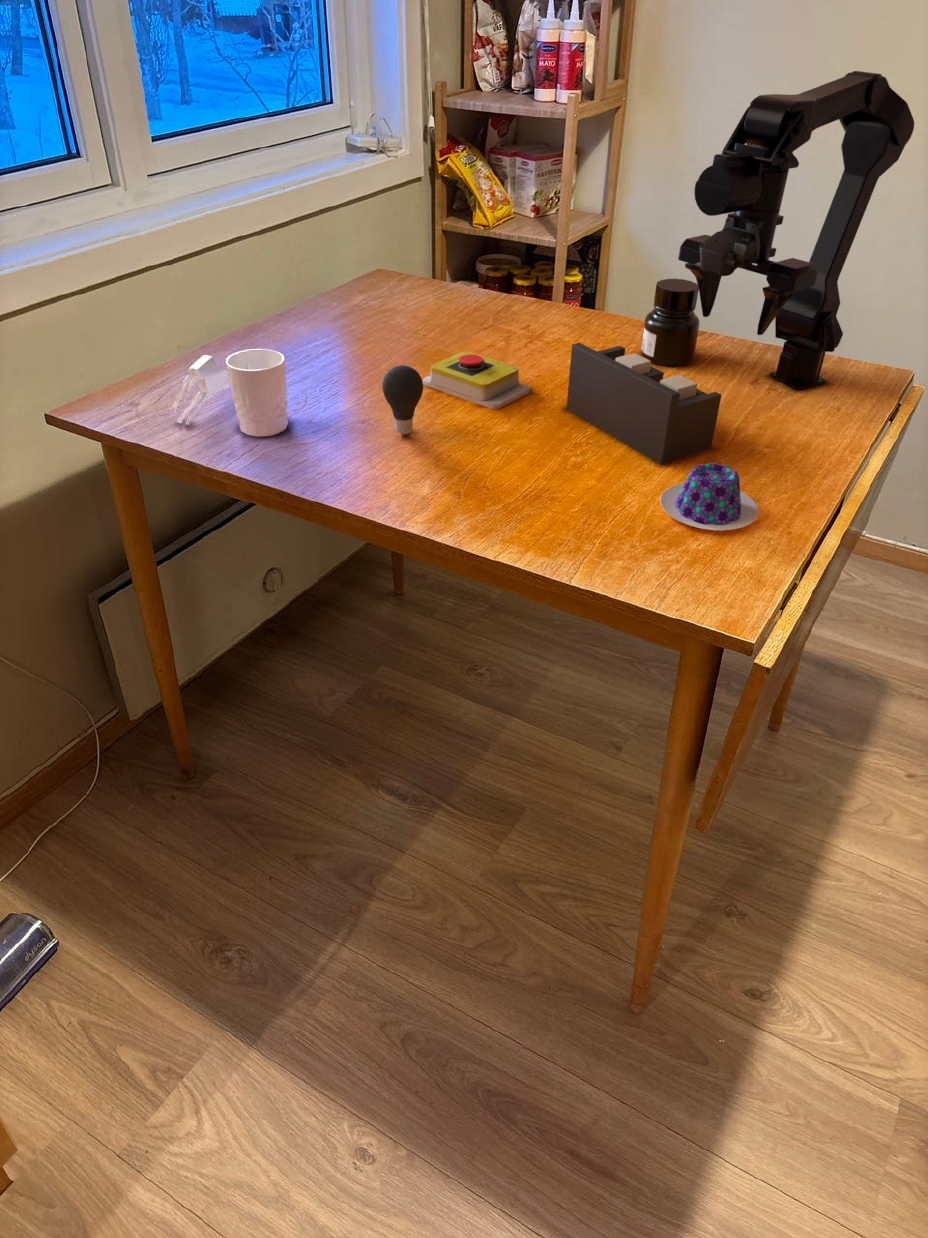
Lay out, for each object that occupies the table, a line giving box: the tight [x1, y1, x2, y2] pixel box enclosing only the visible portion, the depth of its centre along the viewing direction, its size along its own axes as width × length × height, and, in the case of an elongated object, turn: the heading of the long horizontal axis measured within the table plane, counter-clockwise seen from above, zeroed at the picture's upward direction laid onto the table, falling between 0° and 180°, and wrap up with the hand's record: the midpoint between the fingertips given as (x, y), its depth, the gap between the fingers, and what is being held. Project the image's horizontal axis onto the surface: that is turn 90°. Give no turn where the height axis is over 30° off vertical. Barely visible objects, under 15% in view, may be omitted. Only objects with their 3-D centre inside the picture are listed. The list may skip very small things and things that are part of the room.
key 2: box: [660, 374, 698, 400], centre depth 127 cm, size 4×4×2 cm
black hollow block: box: [565, 342, 722, 466], centre depth 130 cm, size 9×21×10 cm, turn 33°
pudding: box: [659, 462, 759, 531], centre depth 113 cm, size 12×12×5 cm
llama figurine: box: [169, 354, 231, 426], centre depth 136 cm, size 2×11×18 cm
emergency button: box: [422, 350, 531, 410], centre depth 143 cm, size 9×4×15 cm
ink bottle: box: [640, 278, 700, 367], centre depth 152 cm, size 10×9×12 cm
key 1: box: [615, 352, 652, 374], centre depth 133 cm, size 4×4×2 cm
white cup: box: [225, 348, 289, 437], centre depth 129 cm, size 8×8×10 cm
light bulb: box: [381, 364, 424, 437], centre depth 128 cm, size 6×6×10 cm
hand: (732, 325), depth 130 cm, fingers open, 9 cm apart
